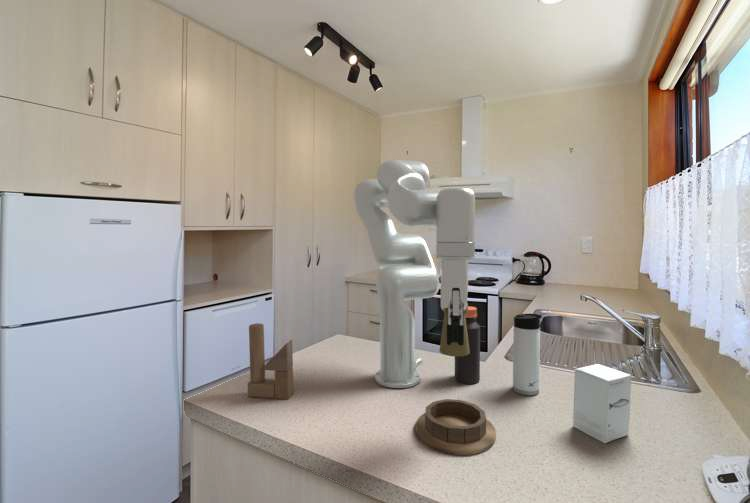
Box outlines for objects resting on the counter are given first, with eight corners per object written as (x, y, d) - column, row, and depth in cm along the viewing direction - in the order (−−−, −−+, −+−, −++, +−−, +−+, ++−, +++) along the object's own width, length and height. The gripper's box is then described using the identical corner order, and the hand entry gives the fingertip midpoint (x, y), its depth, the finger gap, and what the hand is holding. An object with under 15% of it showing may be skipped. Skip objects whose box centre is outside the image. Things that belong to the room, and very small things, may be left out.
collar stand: (440, 405, 88) (440, 389, 88) (507, 428, 78) (508, 409, 78) (400, 434, 76) (400, 415, 76) (474, 466, 66) (474, 444, 65)
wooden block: (288, 400, 92) (286, 328, 91) (247, 397, 93) (245, 326, 92) (293, 393, 95) (292, 324, 94) (254, 391, 97) (252, 322, 96)
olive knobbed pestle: (472, 348, 77) (472, 296, 77) (466, 358, 72) (466, 301, 71) (443, 345, 80) (443, 294, 79) (435, 354, 74) (436, 299, 74)
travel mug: (538, 398, 92) (539, 317, 90) (510, 392, 95) (511, 314, 94) (542, 389, 97) (543, 312, 96) (515, 383, 100) (516, 309, 99)
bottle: (449, 379, 103) (450, 308, 102) (462, 372, 108) (462, 304, 107) (472, 386, 98) (472, 311, 97) (484, 379, 103) (485, 307, 102)
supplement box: (605, 445, 72) (607, 380, 71) (571, 426, 79) (573, 367, 78) (630, 436, 75) (632, 374, 74) (595, 419, 82) (597, 362, 81)
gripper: (436, 248, 83) (436, 329, 85) (435, 253, 67) (435, 353, 68) (471, 248, 82) (470, 330, 83) (478, 254, 66) (477, 356, 67)
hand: (454, 340), depth 76 cm, fingers closed on olive knobbed pestle, 4 cm apart
